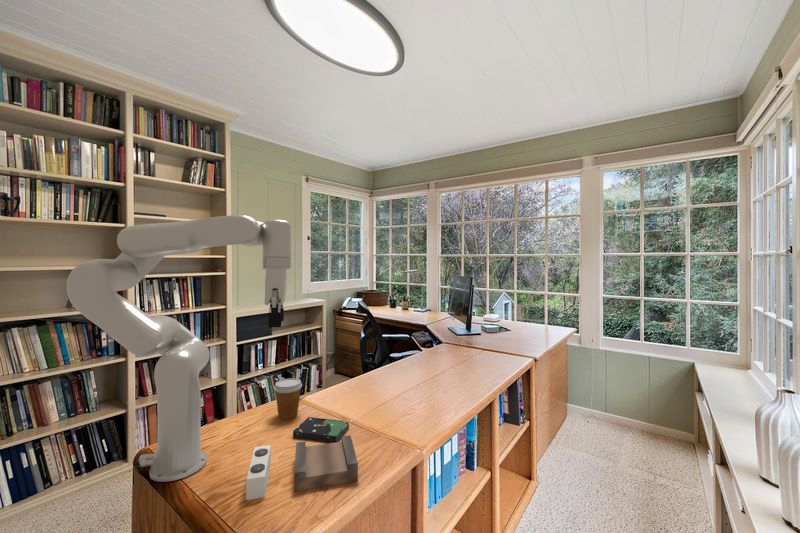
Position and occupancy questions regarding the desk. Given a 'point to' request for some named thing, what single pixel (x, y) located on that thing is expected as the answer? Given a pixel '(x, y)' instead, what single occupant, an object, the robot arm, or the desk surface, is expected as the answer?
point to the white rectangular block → (258, 473)
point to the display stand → (325, 464)
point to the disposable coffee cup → (287, 398)
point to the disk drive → (321, 430)
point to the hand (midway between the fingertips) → (276, 324)
